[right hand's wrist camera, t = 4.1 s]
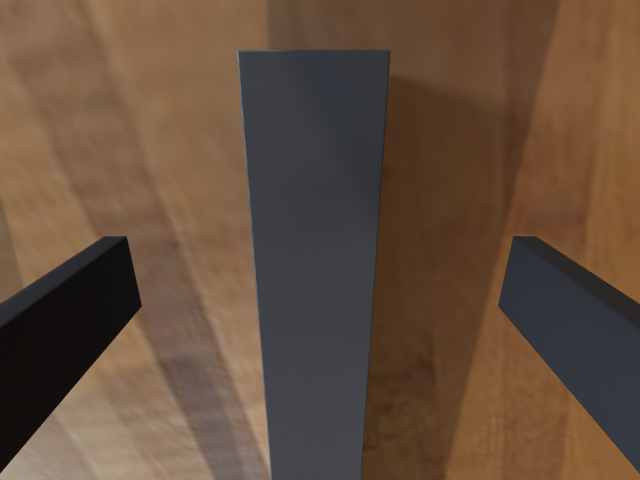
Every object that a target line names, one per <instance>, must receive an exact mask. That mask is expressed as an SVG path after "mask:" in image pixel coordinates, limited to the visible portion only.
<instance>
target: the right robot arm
mask: <svg viewBox="0 0 640 480" xmlns="http://www.w3.org/2000/svg"><path fill="white" fill-rule="evenodd" d="M141 307H142V305H141V300H140V295H139V291H138V286H137V282H136V277H135V272H134V268H133V263H132V259H131V254H130V249H129V245H128V240H127V236H104V237H103V238H101V239H100V240H98V241H96V242H95V243H93V244H92V245H90V246H89V247H87V248H86V249H84V250H83V251H81V252H80V253H78V254H77V255H75V256H73V257H72V258H70V259H69V260H67V261H66V262H64V263H63V264H61V265H60V266H58V267H57V268H55V269H54V270H52V271H50V272H49V273H47V274H46V275H44V276H43V277H41V278H40V279H38V280H37V281H35V282H34V283H32V284H31V285H29V286H27V287H26V288H24V289H23V290H21V291H20V292H18V293H17V294H15V295H14V296H12V297H11V298H9V299H8V300H6V301H4V302H3V303H1V304H0V473H1V472H2V471H3V470H4V468H5V467H6V466H7V465H8V464H9V463H10V461H11V460H12V459H13V458H14V457H15V455H16V454H17V453H18V452H19V451H20V450H21V448H22V447H23V446H24V445H25V444H26V442H27V441H28V440H29V439H30V438H31V437H32V435H33V434H34V433H35V432H36V431H37V429H38V428H39V427H40V426H41V425H42V424H43V422H44V421H45V420H46V419H47V418H48V416H49V415H50V414H51V413H52V412H53V411H54V409H55V408H56V407H57V406H58V405H59V403H60V402H61V401H62V400H63V399H64V398H65V396H66V395H67V394H68V393H69V392H70V390H71V389H72V388H73V387H74V386H75V385H76V383H77V382H78V381H79V380H80V379H81V377H82V376H83V375H84V374H85V373H86V372H87V370H88V369H89V368H90V367H91V366H92V364H93V363H94V362H95V361H96V360H97V359H98V357H99V356H100V355H101V354H102V353H103V351H104V350H105V349H106V348H107V347H108V346H109V344H110V343H111V342H112V341H113V340H114V338H115V337H116V336H117V335H118V334H119V333H120V331H121V330H122V329H123V328H124V327H125V325H126V324H127V323H128V322H129V321H130V320H131V318H132V317H133V316H134V315H135V314H136V312H137V311H138V310H139V309H140V308H141ZM498 307H499V308H500V309H501V310H502V311H503V312H504V314H505V315H506V316H507V317H508V318H509V320H510V321H511V322H512V323H513V324H514V325H515V327H516V328H517V329H518V330H519V331H520V333H521V334H522V335H523V336H524V337H525V338H526V340H527V341H528V342H529V343H530V344H531V346H532V347H533V348H534V349H535V350H536V351H537V353H538V354H539V355H540V356H541V357H542V359H543V360H544V361H545V362H546V363H547V364H548V366H549V367H550V368H551V369H552V370H553V372H554V373H555V374H556V375H557V376H558V377H559V379H560V380H561V381H562V382H563V383H564V385H565V386H566V387H567V388H568V389H569V390H570V392H571V393H572V394H573V395H574V396H575V398H576V399H577V400H578V401H579V402H580V403H581V405H582V406H583V407H584V408H585V409H586V411H587V412H588V413H589V414H590V415H591V416H592V418H593V419H594V420H595V421H596V422H597V424H598V425H599V426H600V427H601V428H602V429H603V431H604V432H605V433H606V434H607V435H608V437H609V438H610V439H611V440H612V441H613V442H614V444H615V445H616V446H617V447H618V448H619V450H620V451H621V452H622V453H623V454H624V455H625V457H626V458H627V459H628V460H629V461H630V463H631V464H632V465H633V466H634V467H635V468H636V470H637V471H638V472H639V473H640V304H639V303H637V302H636V301H634V300H632V299H631V298H629V297H628V296H626V295H625V294H623V293H622V292H620V291H619V290H617V289H616V288H614V287H613V286H611V285H609V284H608V283H606V282H605V281H603V280H602V279H600V278H599V277H597V276H596V275H594V274H593V273H591V272H590V271H588V270H586V269H585V268H583V267H582V266H580V265H579V264H577V263H576V262H574V261H573V260H571V259H570V258H568V257H567V256H565V255H563V254H562V253H560V252H559V251H557V250H556V249H554V248H553V247H551V246H550V245H548V244H547V243H545V242H544V241H542V240H540V239H539V238H537V237H536V236H513V240H512V245H511V249H510V254H509V259H508V263H507V268H506V272H505V277H504V282H503V286H502V291H501V295H500V300H499V305H498Z"/></svg>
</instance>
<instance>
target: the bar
mask: <svg viewBox="0 0 640 480" xmlns="http://www.w3.org/2000/svg"><path fill="white" fill-rule="evenodd" d="M237 58H238V70H239V83H240V95H241V108H242V120H243V133H244V145H245V157H246V170H247V182H248V195H249V207H250V220H251V232H252V244H253V257H254V269H255V282H256V294H257V307H258V319H259V331H260V344H261V356H262V369H263V381H264V394H265V406H266V419H267V431H268V443H269V456H270V468H271V480H361V474H362V460H363V445H364V430H365V416H366V401H367V387H368V372H369V357H370V343H371V328H372V313H373V299H374V284H375V270H376V255H377V240H378V226H379V211H380V196H381V182H382V167H383V153H384V138H385V123H386V109H387V94H388V79H389V65H390V51H389V50H238V51H237Z"/></svg>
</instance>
